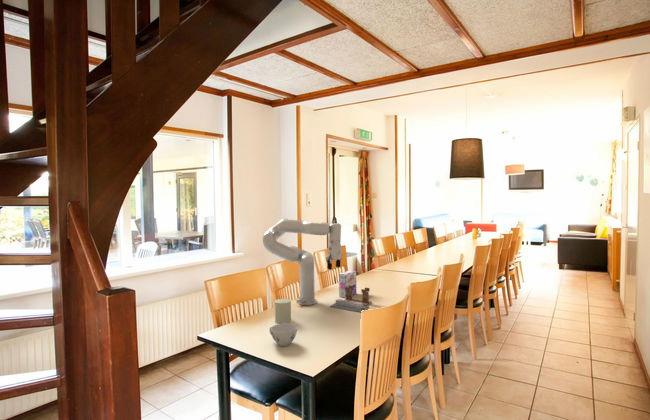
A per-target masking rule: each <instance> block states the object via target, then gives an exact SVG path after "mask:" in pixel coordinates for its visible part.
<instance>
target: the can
mask: <svg viewBox="0 0 650 420" xmlns="http://www.w3.org/2000/svg"><path fill="white" fill-rule="evenodd" d="M291 305H292V300H291V299H290V298H278V299H275V300H274V322H275V323H276V324H277V325H279V324H283V323H288V324H290V323H291V322H292V306H291Z"/></svg>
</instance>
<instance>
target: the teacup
mask: <svg viewBox="0 0 650 420" xmlns="http://www.w3.org/2000/svg"><path fill="white" fill-rule="evenodd" d="M297 331H298V326H297V325H296V324H293V323H283V324H275V325H273V326H271V327H269V334H270V336H271V337H272V339H273V340H274V342H275V343H276V344H277V345H278V346H280V347H286V346H290V345H291V343H292V342H293V341H294V340H295V338H296V335H297Z"/></svg>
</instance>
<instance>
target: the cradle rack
mask: <svg viewBox="0 0 650 420" xmlns="http://www.w3.org/2000/svg"><path fill="white" fill-rule="evenodd" d="M352 289H353V286H352V285H348V287H345V290H346V298H344V300H347V301H353V302H359V303H363V306H368V307H369V305H371V304H373V301H371V300H370V298H369V297H370V296H369V294H370V287H364V289H363V288H362V289H360V291H361V294H362V297H361V298H362V299H360V298H354V297H353V295H352Z"/></svg>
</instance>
